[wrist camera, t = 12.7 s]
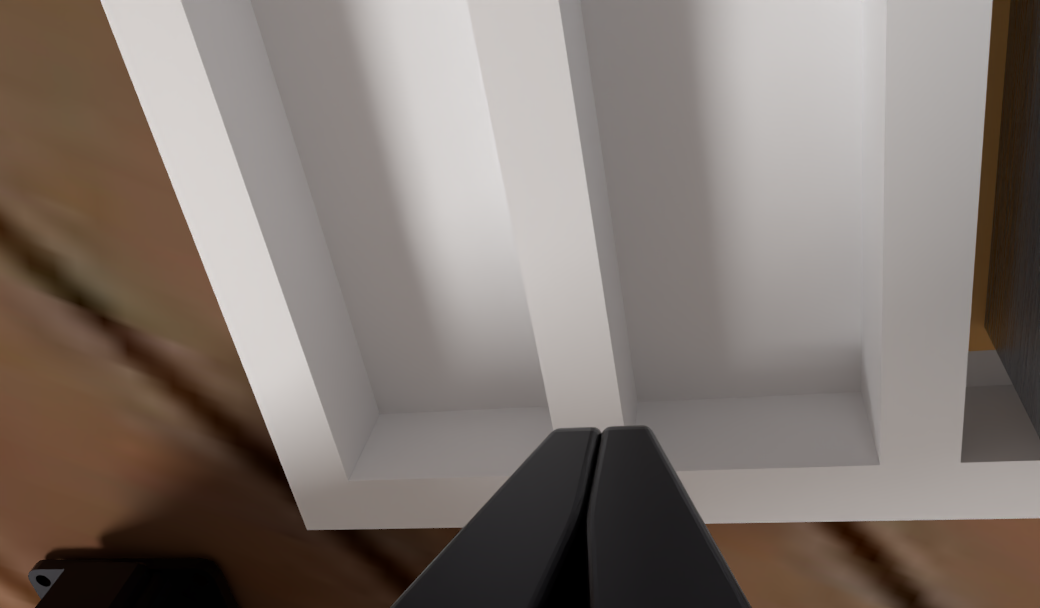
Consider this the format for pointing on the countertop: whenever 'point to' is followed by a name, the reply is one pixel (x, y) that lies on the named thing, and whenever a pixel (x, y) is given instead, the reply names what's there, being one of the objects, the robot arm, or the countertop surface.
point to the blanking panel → (1018, 214)
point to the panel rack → (602, 243)
